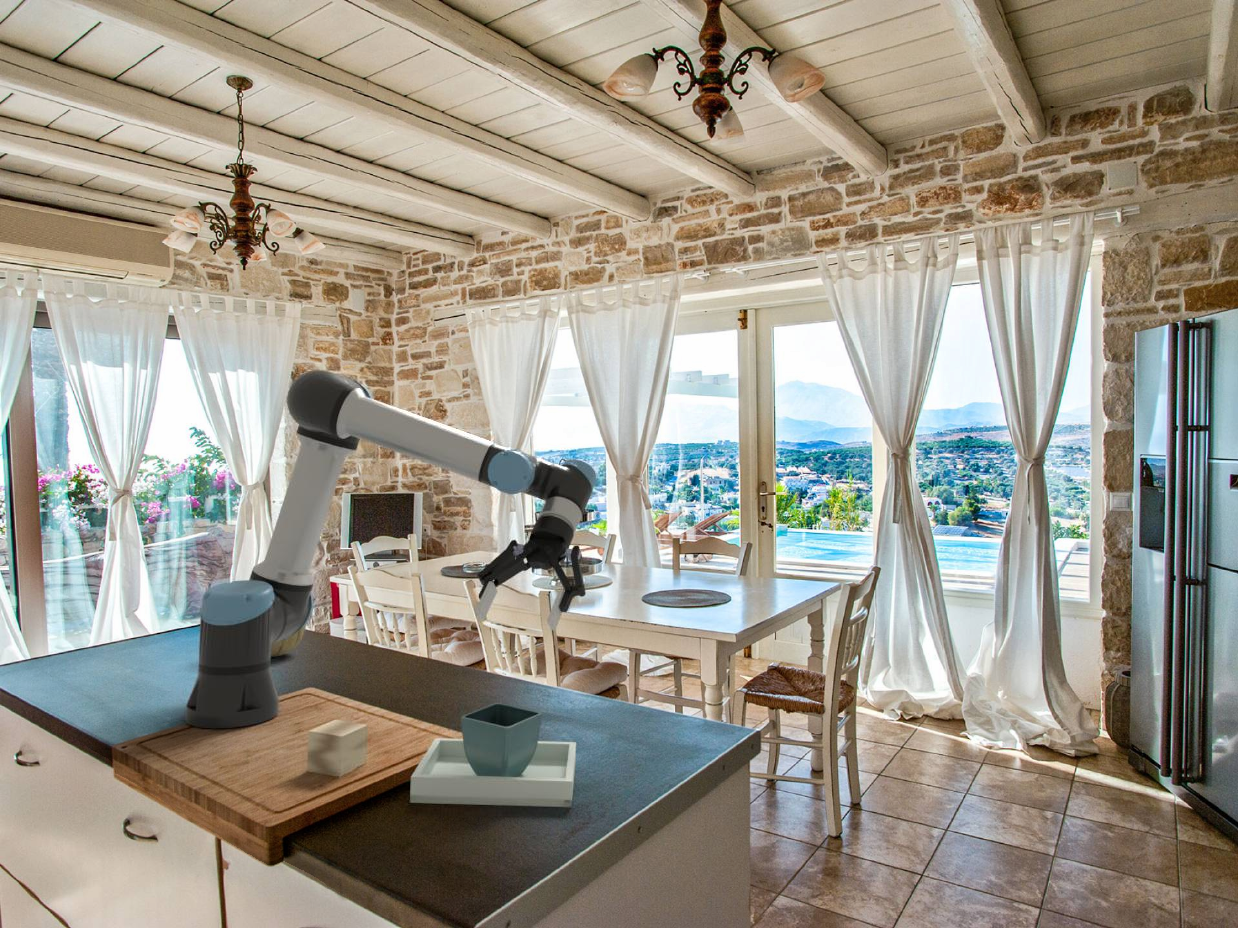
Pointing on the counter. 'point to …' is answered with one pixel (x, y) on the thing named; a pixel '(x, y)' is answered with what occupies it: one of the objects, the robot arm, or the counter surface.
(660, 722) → the counter surface
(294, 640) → the cantaloupe
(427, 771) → the tray
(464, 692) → the counter surface
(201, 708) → the robot arm
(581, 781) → the counter surface
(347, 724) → the beech block
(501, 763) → the flower pot
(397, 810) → the counter surface
